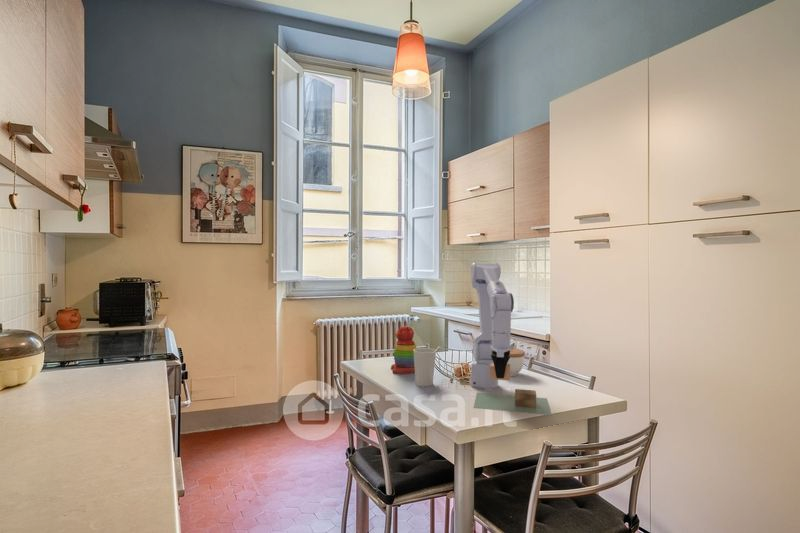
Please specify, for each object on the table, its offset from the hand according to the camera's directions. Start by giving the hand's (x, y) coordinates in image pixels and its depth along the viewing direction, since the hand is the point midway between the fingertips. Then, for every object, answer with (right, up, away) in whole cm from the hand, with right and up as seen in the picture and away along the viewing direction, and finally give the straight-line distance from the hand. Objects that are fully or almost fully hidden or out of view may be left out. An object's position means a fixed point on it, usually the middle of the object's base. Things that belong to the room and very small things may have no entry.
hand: (500, 375), depth 141 cm
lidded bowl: (+11, -8, +37) cm, 40 cm away
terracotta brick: (0, -1, 0) cm, 1 cm away
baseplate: (+3, -9, -2) cm, 9 cm away
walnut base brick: (+7, -8, -4) cm, 11 cm away
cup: (-23, -8, +20) cm, 31 cm away
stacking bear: (-29, -8, +39) cm, 50 cm away
